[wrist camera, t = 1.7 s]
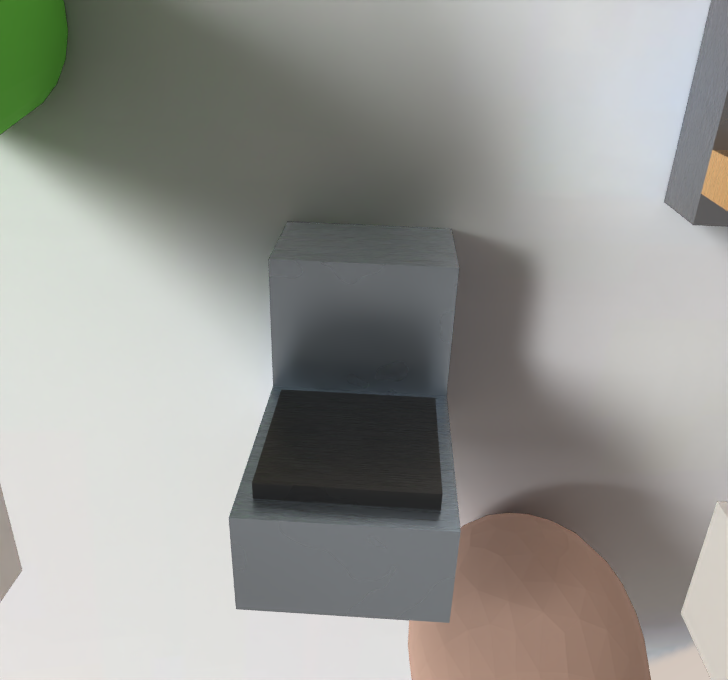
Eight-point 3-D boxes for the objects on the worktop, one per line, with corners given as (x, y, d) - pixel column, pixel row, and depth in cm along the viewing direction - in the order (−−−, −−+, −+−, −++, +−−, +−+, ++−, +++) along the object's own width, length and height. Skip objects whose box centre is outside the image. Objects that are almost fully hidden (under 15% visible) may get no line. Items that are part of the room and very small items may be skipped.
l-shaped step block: (287, 221, 19) (216, 360, 12) (451, 228, 19) (480, 374, 11) (292, 405, 21) (235, 609, 14) (434, 412, 21) (449, 623, 14)
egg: (389, 589, 25) (381, 879, 17) (433, 444, 22) (449, 713, 14) (564, 622, 25) (641, 923, 17) (631, 484, 22) (764, 769, 14)
